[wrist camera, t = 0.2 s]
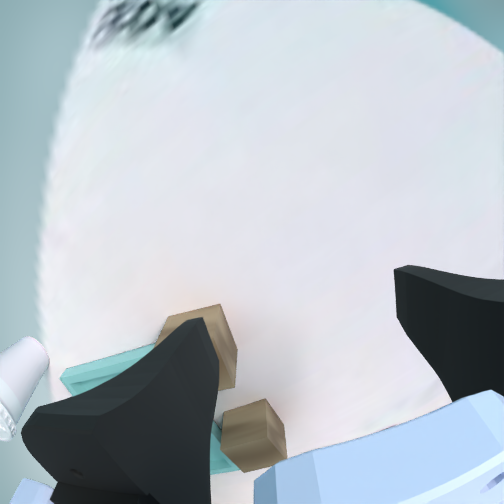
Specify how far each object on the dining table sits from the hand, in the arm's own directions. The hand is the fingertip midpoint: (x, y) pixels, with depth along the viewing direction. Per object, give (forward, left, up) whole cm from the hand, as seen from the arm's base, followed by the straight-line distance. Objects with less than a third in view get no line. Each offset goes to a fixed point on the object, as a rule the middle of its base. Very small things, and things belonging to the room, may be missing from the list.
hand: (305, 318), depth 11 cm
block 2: (-14, +8, -10) cm, 19 cm away
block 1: (-4, +8, -10) cm, 13 cm away
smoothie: (-1, +25, -10) cm, 27 cm away
